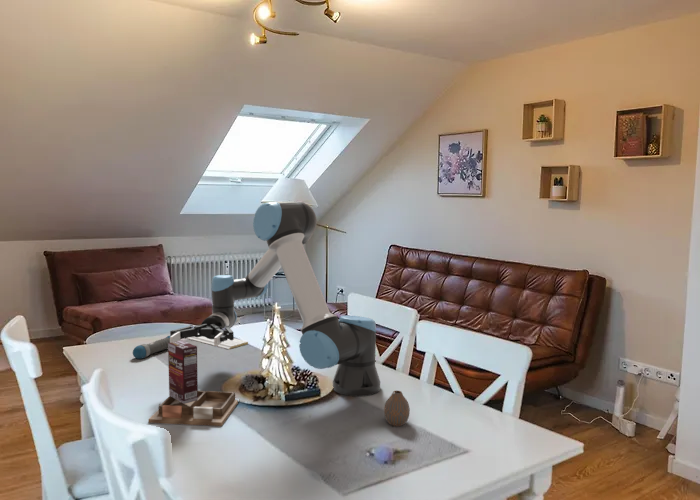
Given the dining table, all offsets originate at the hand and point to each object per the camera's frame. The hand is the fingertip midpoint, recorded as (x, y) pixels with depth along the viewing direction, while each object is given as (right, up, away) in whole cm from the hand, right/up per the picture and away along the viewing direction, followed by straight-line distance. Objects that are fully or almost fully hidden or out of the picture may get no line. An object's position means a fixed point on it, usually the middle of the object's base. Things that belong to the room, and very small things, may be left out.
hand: (193, 341), depth 174 cm
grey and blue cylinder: (-27, -12, +47) cm, 56 cm away
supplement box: (-1, -15, -9) cm, 17 cm away
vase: (+60, -20, -16) cm, 65 cm away
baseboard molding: (-10, -11, +65) cm, 67 cm away
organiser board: (+4, -18, -10) cm, 21 cm away
